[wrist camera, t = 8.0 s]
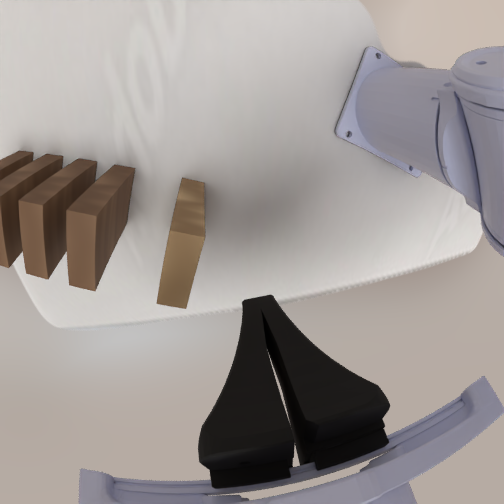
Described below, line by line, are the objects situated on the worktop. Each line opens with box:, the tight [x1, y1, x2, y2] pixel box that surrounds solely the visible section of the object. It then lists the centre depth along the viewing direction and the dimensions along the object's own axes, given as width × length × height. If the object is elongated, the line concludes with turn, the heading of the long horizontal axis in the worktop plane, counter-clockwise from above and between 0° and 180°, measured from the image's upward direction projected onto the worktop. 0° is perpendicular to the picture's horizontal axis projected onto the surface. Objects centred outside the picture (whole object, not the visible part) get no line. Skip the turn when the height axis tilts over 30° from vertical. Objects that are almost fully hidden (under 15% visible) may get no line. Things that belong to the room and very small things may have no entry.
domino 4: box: [0, 154, 63, 268], centre depth 13 cm, size 2×4×8 cm, turn 161°
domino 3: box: [19, 159, 97, 279], centre depth 14 cm, size 2×4×8 cm, turn 161°
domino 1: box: [157, 178, 205, 309], centre depth 16 cm, size 2×4×8 cm, turn 161°
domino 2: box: [66, 165, 135, 291], centre depth 15 cm, size 2×4×8 cm, turn 161°
